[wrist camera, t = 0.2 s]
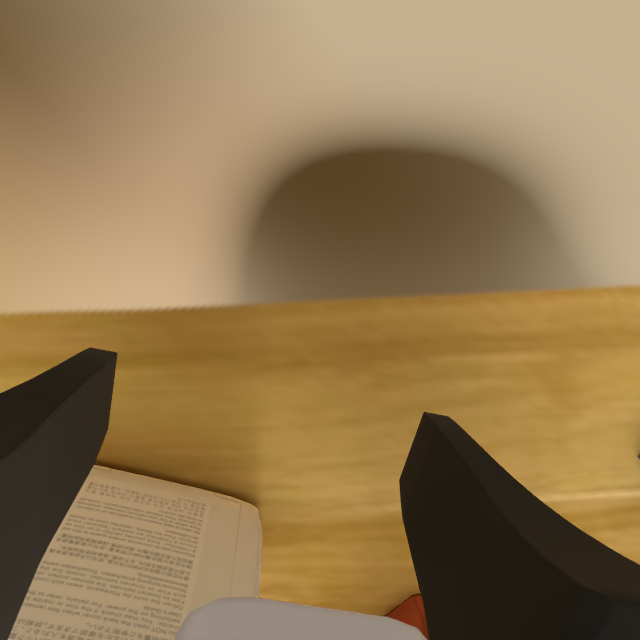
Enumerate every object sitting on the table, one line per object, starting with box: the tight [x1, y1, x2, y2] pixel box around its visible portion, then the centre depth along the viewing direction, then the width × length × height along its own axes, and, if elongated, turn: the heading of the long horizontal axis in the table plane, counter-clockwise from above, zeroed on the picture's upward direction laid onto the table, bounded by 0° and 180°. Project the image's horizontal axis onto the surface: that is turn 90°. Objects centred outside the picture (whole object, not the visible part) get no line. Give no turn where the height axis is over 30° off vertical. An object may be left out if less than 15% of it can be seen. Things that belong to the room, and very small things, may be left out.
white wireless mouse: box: [8, 465, 262, 640], centre depth 20 cm, size 10×4×12 cm, turn 73°
